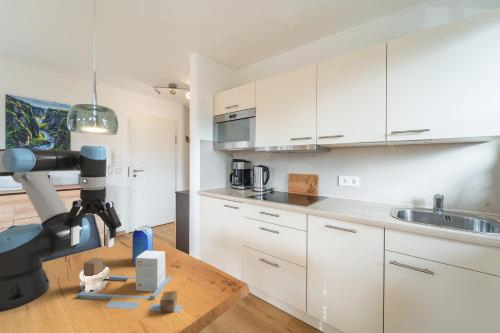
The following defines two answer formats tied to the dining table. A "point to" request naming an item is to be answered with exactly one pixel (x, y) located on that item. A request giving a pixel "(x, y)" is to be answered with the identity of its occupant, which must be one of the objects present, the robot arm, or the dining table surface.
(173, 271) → the dining table surface
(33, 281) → the robot arm
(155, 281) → the small box
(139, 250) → the beer can
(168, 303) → the walnut cube
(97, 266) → the frame
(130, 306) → the broken strip
